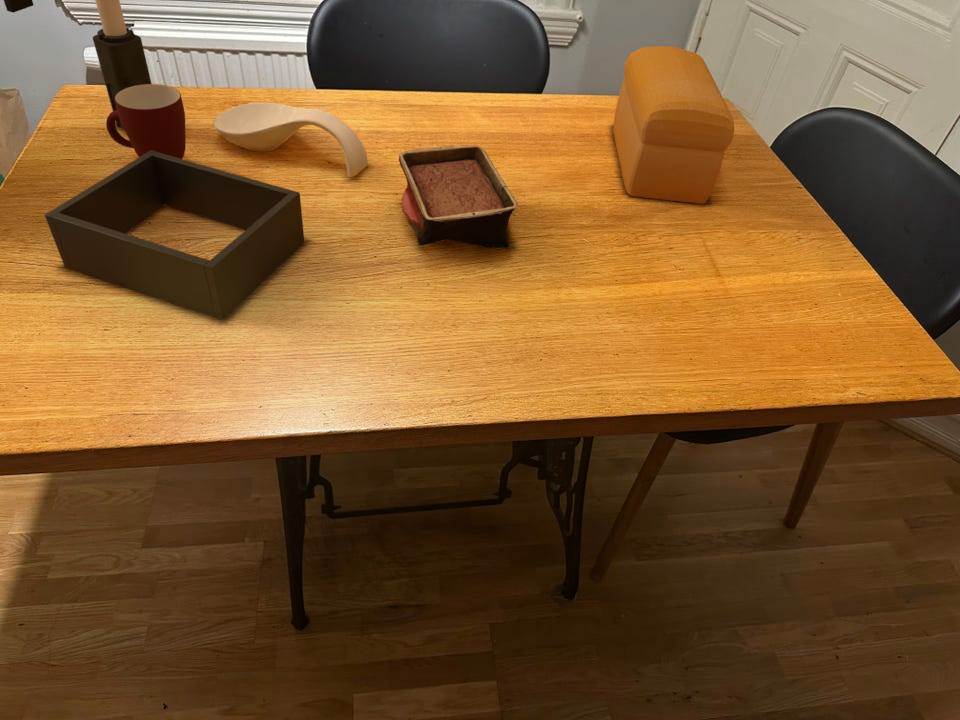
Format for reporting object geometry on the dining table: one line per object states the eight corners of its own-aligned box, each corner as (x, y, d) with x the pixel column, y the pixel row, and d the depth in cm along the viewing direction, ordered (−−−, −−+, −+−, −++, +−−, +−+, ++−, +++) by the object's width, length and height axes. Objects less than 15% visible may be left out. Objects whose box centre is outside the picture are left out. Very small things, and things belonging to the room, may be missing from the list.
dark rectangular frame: (64, 267, 79) (43, 214, 75) (163, 199, 91) (150, 149, 87) (223, 320, 75) (212, 267, 71) (304, 241, 87) (300, 192, 83)
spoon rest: (200, 147, 102) (191, 99, 97) (250, 118, 110) (243, 72, 106) (340, 191, 97) (338, 142, 92) (381, 157, 105) (381, 111, 100)
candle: (113, 124, 105) (60, -65, 88) (143, 114, 108) (97, -71, 91) (134, 135, 103) (84, -56, 86) (164, 125, 106) (121, -62, 89)
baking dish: (407, 274, 88) (417, 212, 80) (391, 183, 98) (398, 121, 91) (515, 275, 92) (534, 216, 84) (489, 187, 102) (504, 128, 94)
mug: (106, 178, 94) (84, 106, 87) (124, 150, 100) (104, 81, 93) (188, 182, 95) (172, 111, 88) (200, 154, 101) (187, 85, 94)
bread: (710, 205, 104) (745, 107, 93) (624, 196, 103) (650, 97, 93) (683, 132, 121) (710, 43, 111) (610, 124, 121) (630, 34, 111)
